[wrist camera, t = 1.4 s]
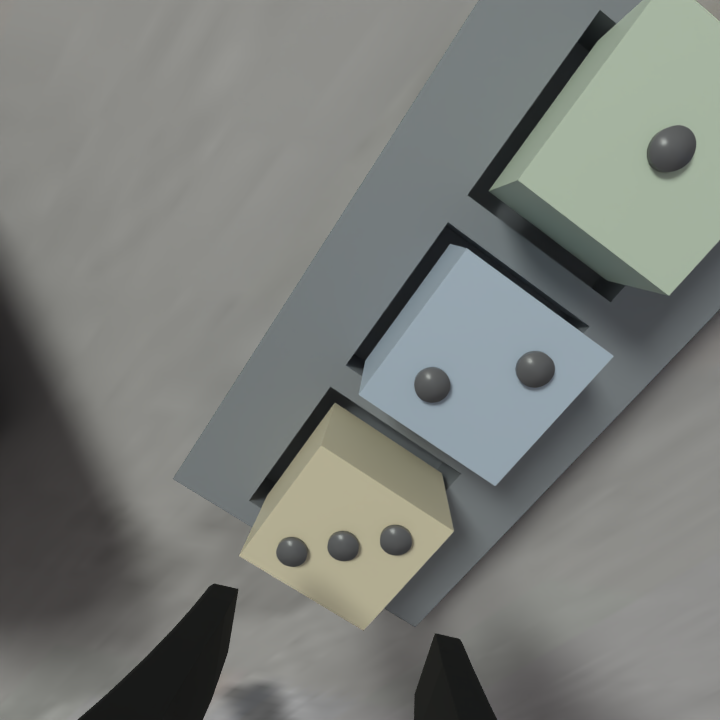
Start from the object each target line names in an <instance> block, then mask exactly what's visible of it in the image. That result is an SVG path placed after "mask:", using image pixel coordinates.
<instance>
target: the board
mask: <svg viewBox="0 0 720 720" xmlns="http://www.w3.org/2000/svg"><path fill="white" fill-rule="evenodd" d="M641 1H642V0H479V1H478V2H477V4H476V5H475V7H474V8H473V10H472V12H471V13H470V15H469V16H468V18H467V19H466V21H465V23H464V24H463V26H462V27H461V29H460V30H459V32H458V33H457V35H456V37H455V38H454V40H453V41H452V43H451V44H450V46H449V48H448V49H447V51H446V52H445V54H444V55H443V57H442V59H441V60H440V62H439V63H438V65H437V66H436V68H435V69H434V71H433V73H432V74H431V76H430V77H429V79H428V80H427V82H426V84H425V85H424V87H423V88H422V90H421V91H420V93H419V95H418V96H417V98H416V99H415V101H414V102H413V104H412V105H411V107H410V109H409V110H408V112H407V113H406V115H405V116H404V118H403V120H402V121H401V123H400V124H399V126H398V127H397V129H396V131H395V132H394V134H393V135H392V137H391V138H390V140H389V141H388V143H387V145H386V146H385V148H384V149H383V151H382V152H381V154H380V156H379V157H378V159H377V160H376V162H375V163H374V165H373V167H372V168H371V170H370V171H369V173H368V174H367V176H366V177H365V179H364V181H363V182H362V184H361V185H360V187H359V188H358V190H357V192H356V193H355V195H354V196H353V198H352V199H351V201H350V203H349V204H348V206H347V207H346V209H345V210H344V212H343V213H342V215H341V217H340V218H339V220H338V221H337V223H336V224H335V226H334V228H333V229H332V231H331V232H330V234H329V235H328V237H327V239H326V240H325V242H324V243H323V245H322V246H321V248H320V249H319V251H318V253H317V254H316V256H315V257H314V259H313V260H312V262H311V264H310V265H309V267H308V268H307V270H306V271H305V273H304V275H303V276H302V278H301V279H300V281H299V282H298V284H297V285H296V287H295V289H294V290H293V292H292V293H291V295H290V296H289V298H288V300H287V301H286V303H285V304H284V306H283V307H282V309H281V311H280V312H279V314H278V315H277V317H276V318H275V320H274V321H273V323H272V325H271V326H270V328H269V329H268V331H267V332H266V334H265V336H264V337H263V339H262V340H261V342H260V343H259V345H258V347H257V348H256V350H255V351H254V353H253V354H252V356H251V357H250V359H249V361H248V362H247V364H246V365H245V367H244V368H243V370H242V372H241V373H240V375H239V376H238V378H237V379H236V381H235V383H234V384H233V386H232V387H231V389H230V390H229V392H228V393H227V395H226V397H225V398H224V400H223V401H222V403H221V404H220V406H219V408H218V409H217V411H216V412H215V414H214V415H213V417H212V419H211V420H210V422H209V423H208V425H207V426H206V428H205V429H204V431H203V433H202V434H201V436H200V437H199V439H198V440H197V442H196V444H195V445H194V447H193V448H192V450H191V451H190V453H189V455H188V456H187V458H186V459H185V461H184V462H183V464H182V465H181V467H180V469H179V470H178V472H177V473H176V475H175V476H174V478H173V479H174V480H175V481H177V482H179V483H180V484H182V485H184V486H185V487H187V488H189V489H190V490H192V491H193V492H195V493H197V494H198V495H200V496H202V497H203V498H205V499H206V500H208V501H210V502H211V503H213V504H215V505H216V506H218V507H220V508H221V509H223V510H224V511H226V512H228V513H229V514H231V515H233V516H234V517H236V518H238V519H239V520H241V521H242V522H244V523H246V524H247V525H249V526H251V527H253V525H254V523H255V521H256V518H257V516H258V514H259V512H260V510H261V508H262V505H263V503H264V501H265V499H266V497H267V495H268V494H269V492H270V491H271V490H272V488H273V487H274V485H275V484H276V483H277V481H278V480H279V479H280V477H281V476H282V474H283V473H284V472H285V470H286V469H287V468H288V466H289V465H290V463H291V462H292V461H293V459H294V458H295V457H296V455H297V454H298V452H299V451H300V450H301V448H302V447H303V446H304V444H305V443H306V441H307V440H308V439H309V437H310V436H311V435H312V433H313V432H314V430H315V429H316V428H317V426H318V425H319V424H320V422H321V421H322V419H323V418H324V417H325V415H326V414H327V413H328V411H329V410H330V408H331V407H332V406H333V404H334V403H337V404H338V405H340V406H341V407H343V408H344V409H346V410H347V411H349V412H350V413H352V414H353V415H355V416H356V417H358V418H359V419H361V420H362V421H364V422H365V423H367V424H368V425H370V426H371V427H373V428H374V429H376V430H377V431H379V432H380V433H382V434H383V435H385V436H386V437H388V438H389V439H391V440H392V441H394V442H395V443H397V444H398V445H400V446H402V447H403V448H405V449H406V450H408V451H409V452H411V453H412V454H414V455H415V456H417V457H418V458H420V459H421V460H423V461H424V462H426V463H427V464H429V465H430V466H432V467H433V468H435V469H436V470H438V471H439V472H441V473H442V476H443V481H444V486H445V490H446V495H447V500H448V505H449V510H450V514H451V519H452V524H453V529H454V532H453V533H452V534H451V535H450V536H449V537H448V539H447V540H446V541H445V542H444V543H443V544H442V545H441V546H440V547H439V548H438V550H437V551H436V552H435V553H434V554H433V555H432V556H431V557H430V558H429V559H428V561H427V562H426V563H425V564H424V565H423V566H422V567H421V568H420V569H419V570H418V571H417V573H416V574H415V575H414V576H413V577H412V578H411V579H410V580H409V581H408V582H407V584H406V585H405V586H404V587H403V588H402V589H401V590H400V591H399V592H398V593H397V595H396V596H395V597H394V598H393V599H392V600H391V601H390V602H389V603H388V604H387V605H386V607H385V609H386V610H388V611H390V612H391V613H393V614H394V615H396V616H398V617H399V618H401V619H403V620H404V621H406V622H408V623H409V624H411V625H412V626H414V627H416V626H417V625H418V624H419V623H420V622H421V621H422V619H423V618H424V617H425V616H426V615H427V614H428V613H429V612H430V611H431V610H432V609H433V608H434V607H435V606H436V605H437V604H438V603H439V602H440V601H441V600H442V599H443V598H444V597H445V595H446V594H447V593H448V592H449V591H450V590H451V589H452V588H453V587H454V586H455V585H456V584H457V583H458V582H459V581H460V580H461V579H462V578H463V577H464V576H465V575H466V574H467V572H468V571H469V570H470V569H471V568H472V567H473V566H474V565H475V564H476V563H477V562H478V561H479V560H480V559H481V558H482V557H483V556H484V555H485V554H486V553H487V552H488V551H489V550H490V548H491V547H492V546H493V545H494V544H495V543H496V542H497V541H498V540H499V539H500V538H501V537H502V536H503V535H504V534H505V533H506V532H507V531H508V530H509V529H510V528H511V527H512V526H513V524H514V523H515V522H516V521H517V520H518V519H519V518H520V517H521V516H522V515H523V514H524V513H525V512H526V511H527V510H528V509H529V508H530V507H531V506H532V505H533V504H534V503H535V501H536V500H537V499H538V498H539V497H540V496H541V495H542V494H543V493H544V492H545V491H546V490H547V489H548V488H549V487H550V486H551V485H552V484H553V483H554V482H555V481H556V480H557V479H558V477H559V476H560V475H561V474H562V473H563V472H564V471H565V470H566V469H567V468H568V467H569V466H570V465H571V464H572V463H573V462H574V461H575V460H576V459H577V458H578V457H579V456H580V455H581V453H582V452H583V451H584V450H585V449H586V448H587V447H588V446H589V445H590V444H591V443H592V442H593V441H594V440H595V439H596V438H597V437H598V436H599V435H600V434H601V433H602V432H603V430H604V429H605V428H606V427H607V426H608V425H609V424H610V423H611V422H612V421H613V420H614V419H615V418H616V417H617V416H618V415H619V414H620V413H621V412H622V411H623V410H624V409H625V408H626V406H627V405H628V404H629V403H630V402H631V401H632V400H633V399H634V398H635V397H636V396H637V395H638V394H639V393H640V392H641V391H642V390H643V389H644V388H645V387H646V386H647V385H648V384H649V382H650V381H651V380H652V379H653V378H654V377H655V376H656V375H657V374H658V373H659V372H660V371H661V370H662V369H663V368H664V367H665V366H666V365H667V364H668V363H669V362H670V361H671V359H672V358H673V357H674V356H675V355H676V354H677V353H678V352H679V351H680V350H681V349H682V348H683V347H684V346H685V345H686V344H687V343H688V342H689V341H690V340H691V339H692V338H693V337H694V335H695V334H696V333H697V332H698V331H699V330H700V329H701V328H702V327H703V326H704V325H705V324H706V323H707V322H708V321H709V320H710V319H711V318H712V317H713V316H714V315H715V314H716V313H717V311H718V310H719V309H720V240H719V241H718V243H717V244H716V245H715V246H714V247H713V248H712V249H711V250H710V251H709V252H708V253H707V255H706V256H705V257H704V258H703V259H702V260H701V261H700V262H699V263H698V264H697V266H696V267H695V268H694V269H693V270H692V271H691V272H690V273H689V274H688V275H687V277H686V278H685V279H684V280H683V281H682V282H681V283H680V284H679V285H678V286H677V287H676V289H675V290H674V291H673V292H672V293H671V294H670V295H669V296H668V295H664V294H660V293H656V292H651V291H647V290H643V289H639V288H635V287H631V286H627V285H623V284H618V283H614V282H610V281H607V280H606V279H604V278H603V277H602V276H600V275H599V274H598V273H596V272H595V271H594V270H592V269H591V268H590V267H588V266H587V265H586V264H584V263H583V262H582V261H580V260H579V259H578V258H576V257H575V256H574V255H572V254H571V253H570V252H568V251H567V250H566V249H564V248H563V247H562V246H560V245H559V244H558V243H556V242H555V241H554V240H553V239H551V238H550V237H549V236H547V235H546V234H545V233H543V232H542V231H541V230H539V229H538V228H537V227H535V226H534V225H533V224H531V223H530V222H529V221H527V220H526V219H525V218H523V217H522V216H521V215H519V214H518V213H517V212H515V211H514V210H513V209H511V208H510V207H509V206H507V205H506V204H505V203H504V202H502V201H501V200H500V199H498V198H497V197H496V196H494V195H493V194H492V193H490V192H489V190H490V188H491V187H492V186H493V184H494V183H495V182H496V180H497V179H498V177H499V176H500V175H501V173H502V172H503V171H504V169H505V168H506V166H507V165H508V164H509V162H510V161H511V160H512V158H513V157H514V155H515V154H516V153H517V151H518V150H519V149H520V147H521V146H522V144H523V143H524V142H525V140H526V139H527V138H528V136H529V135H530V133H531V132H532V131H533V129H534V128H535V127H536V125H537V124H538V122H539V121H540V120H541V118H542V117H543V116H544V114H545V113H546V111H547V110H548V109H549V107H550V106H551V105H552V103H553V102H554V100H555V99H556V98H557V96H558V95H559V94H560V92H561V91H562V89H563V88H564V87H565V85H566V84H567V83H568V81H569V80H570V78H571V77H572V76H573V74H574V73H575V72H576V70H577V69H578V67H579V66H580V65H581V63H582V62H583V61H584V59H585V58H586V56H587V55H588V54H589V52H590V51H591V50H592V48H593V47H594V45H595V44H596V43H597V41H598V40H599V39H600V38H601V37H603V36H604V35H605V34H606V33H607V32H608V31H609V30H610V29H611V28H613V27H614V26H615V25H616V24H617V23H618V22H619V21H620V20H621V19H622V18H624V17H625V16H626V15H627V14H628V13H629V12H630V11H631V10H632V9H633V8H635V7H636V6H637V5H638V4H639V3H640V2H641ZM450 244H452V245H456V246H460V247H464V248H467V249H469V250H470V251H471V252H473V253H474V254H475V255H477V256H478V257H479V258H481V259H482V260H484V261H485V262H486V263H488V264H489V265H490V266H492V267H493V268H494V269H496V270H497V271H499V272H500V273H501V274H503V275H504V276H505V277H507V278H508V279H509V280H511V281H512V282H514V283H515V284H516V285H518V286H519V287H520V288H522V289H523V290H524V291H526V292H527V293H529V294H530V295H531V296H533V297H534V298H535V299H537V300H538V301H539V302H541V303H542V304H544V305H545V306H546V307H548V308H549V309H550V310H552V311H553V312H554V313H556V314H557V315H559V316H560V317H561V318H563V319H564V320H565V321H567V322H568V323H569V324H571V325H572V326H574V327H575V328H576V329H578V330H579V331H580V332H582V333H583V334H584V335H586V336H587V337H589V338H590V339H591V340H593V341H594V342H595V343H597V344H598V345H600V346H601V347H602V348H604V349H605V350H606V351H608V352H609V353H610V354H612V355H613V356H614V357H613V358H612V359H611V360H610V361H609V362H608V363H607V364H606V365H605V366H604V368H603V369H602V370H601V371H600V372H599V373H598V374H597V375H596V376H595V377H594V378H593V380H592V381H591V382H590V383H589V384H588V385H587V386H586V387H585V388H584V389H583V391H582V392H581V393H580V394H579V395H578V396H577V397H576V398H575V399H574V400H573V402H572V403H571V404H570V405H569V406H568V407H567V408H566V409H565V410H564V411H563V412H562V414H561V415H560V416H559V417H558V418H557V419H556V420H555V421H554V422H553V423H552V425H551V426H550V427H549V428H548V429H547V430H546V431H545V432H544V433H543V434H542V436H541V437H540V438H539V439H538V440H537V441H536V442H535V443H534V444H533V445H532V446H531V448H530V449H529V450H528V451H527V452H526V453H525V454H524V455H523V456H522V457H521V459H520V460H519V461H518V462H517V463H516V464H515V465H514V466H513V467H512V468H511V470H510V471H509V472H508V473H507V474H506V475H505V476H504V477H503V478H502V479H501V480H500V482H499V483H498V484H497V485H496V486H494V485H493V484H491V483H490V482H488V481H487V480H485V479H484V478H482V477H481V476H479V475H478V474H476V473H475V472H473V471H472V470H470V469H469V468H467V467H466V466H464V465H463V464H461V463H460V462H458V461H457V460H455V459H454V458H452V457H451V456H449V455H448V454H446V453H445V452H443V451H442V450H440V449H439V448H437V447H436V446H434V445H433V444H431V443H430V442H428V441H427V440H425V439H424V438H422V437H421V436H419V435H418V434H416V433H415V432H413V431H412V430H410V429H409V428H407V427H406V426H404V425H403V424H401V423H400V422H398V421H397V420H395V419H394V418H392V417H391V416H389V415H388V414H386V413H385V412H383V411H382V410H380V409H379V408H377V407H376V406H374V405H373V404H372V403H370V402H369V401H367V400H366V399H364V398H363V397H361V396H360V395H359V390H360V385H361V380H362V374H363V369H364V364H365V360H366V359H367V358H368V356H369V355H370V353H371V352H372V351H373V349H374V348H375V347H376V345H377V344H378V342H379V341H380V340H381V338H382V337H383V336H384V334H385V333H386V331H387V330H388V329H389V327H390V326H391V325H392V323H393V322H394V320H395V319H396V318H397V316H398V315H399V314H400V312H401V311H402V309H403V308H404V307H405V305H406V304H407V303H408V301H409V300H410V298H411V297H412V296H413V294H414V293H415V292H416V290H417V289H418V287H419V286H420V285H421V283H422V282H423V281H424V279H425V278H426V276H427V275H428V274H429V272H430V271H431V270H432V268H433V267H434V265H435V264H436V263H437V261H438V260H439V259H440V257H441V256H442V254H443V253H444V252H445V250H446V249H447V248H448V246H449V245H450Z"/></svg>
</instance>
